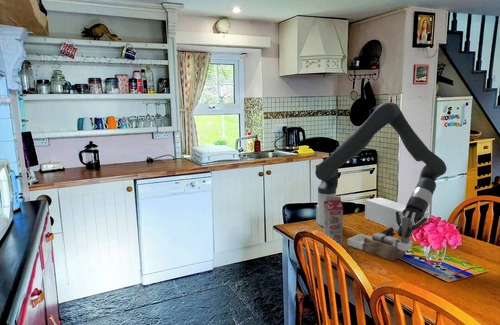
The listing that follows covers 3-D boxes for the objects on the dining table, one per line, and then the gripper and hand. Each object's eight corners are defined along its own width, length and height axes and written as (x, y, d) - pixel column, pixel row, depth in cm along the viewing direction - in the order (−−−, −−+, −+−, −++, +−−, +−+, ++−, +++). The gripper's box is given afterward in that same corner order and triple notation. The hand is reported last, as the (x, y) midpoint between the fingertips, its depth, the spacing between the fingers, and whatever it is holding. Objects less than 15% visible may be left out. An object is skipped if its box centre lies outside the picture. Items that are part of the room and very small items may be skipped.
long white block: (364, 218, 200) (365, 199, 199) (379, 216, 204) (380, 197, 203) (411, 237, 171) (412, 215, 169) (427, 233, 175) (428, 212, 174)
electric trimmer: (395, 234, 176) (396, 227, 176) (380, 242, 166) (380, 235, 165) (388, 232, 179) (388, 226, 178) (373, 240, 168) (373, 233, 168)
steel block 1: (371, 243, 155) (372, 234, 155) (377, 241, 158) (377, 232, 157) (380, 246, 152) (380, 237, 151) (385, 244, 155) (385, 235, 154)
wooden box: (363, 250, 155) (364, 238, 155) (376, 245, 161) (377, 233, 161) (392, 260, 145) (393, 247, 144) (405, 254, 151) (406, 241, 150)
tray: (347, 245, 162) (347, 238, 161) (360, 239, 168) (360, 233, 168) (362, 250, 156) (362, 243, 155) (375, 244, 162) (376, 238, 161)
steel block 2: (383, 247, 151) (383, 238, 150) (388, 245, 153) (389, 235, 153) (392, 250, 148) (392, 240, 147) (397, 247, 150) (398, 238, 150)
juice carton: (323, 241, 166) (323, 195, 163) (337, 241, 167) (338, 194, 164) (327, 247, 160) (328, 198, 156) (342, 246, 160) (343, 198, 157)
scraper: (397, 248, 145) (398, 218, 143) (405, 245, 149) (406, 215, 147) (404, 251, 143) (405, 220, 141) (412, 247, 146) (413, 217, 144)
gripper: (400, 193, 153) (383, 227, 147) (433, 198, 142) (416, 236, 136) (406, 203, 157) (389, 236, 151) (439, 209, 146) (422, 246, 140)
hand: (402, 236), depth 144 cm, fingers closed on scraper, 2 cm apart
